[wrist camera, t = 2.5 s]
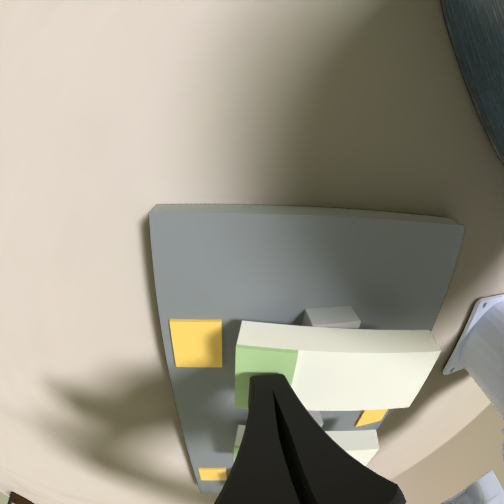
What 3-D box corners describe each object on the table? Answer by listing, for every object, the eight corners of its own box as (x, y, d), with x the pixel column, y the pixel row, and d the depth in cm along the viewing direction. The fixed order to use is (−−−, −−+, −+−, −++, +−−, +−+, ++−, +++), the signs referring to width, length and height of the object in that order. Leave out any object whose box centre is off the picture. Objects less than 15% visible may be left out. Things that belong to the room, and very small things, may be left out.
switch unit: (449, 217, 14) (481, 234, 12) (338, 467, 26) (343, 485, 23) (156, 204, 12) (140, 223, 10) (200, 481, 24) (201, 502, 21)
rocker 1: (429, 330, 12) (442, 353, 10) (401, 385, 13) (409, 410, 12) (242, 320, 12) (235, 347, 11) (239, 380, 14) (234, 407, 12)
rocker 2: (375, 429, 15) (379, 451, 13) (357, 455, 16) (359, 474, 15) (238, 424, 16) (234, 447, 14) (237, 451, 17) (233, 470, 16)
